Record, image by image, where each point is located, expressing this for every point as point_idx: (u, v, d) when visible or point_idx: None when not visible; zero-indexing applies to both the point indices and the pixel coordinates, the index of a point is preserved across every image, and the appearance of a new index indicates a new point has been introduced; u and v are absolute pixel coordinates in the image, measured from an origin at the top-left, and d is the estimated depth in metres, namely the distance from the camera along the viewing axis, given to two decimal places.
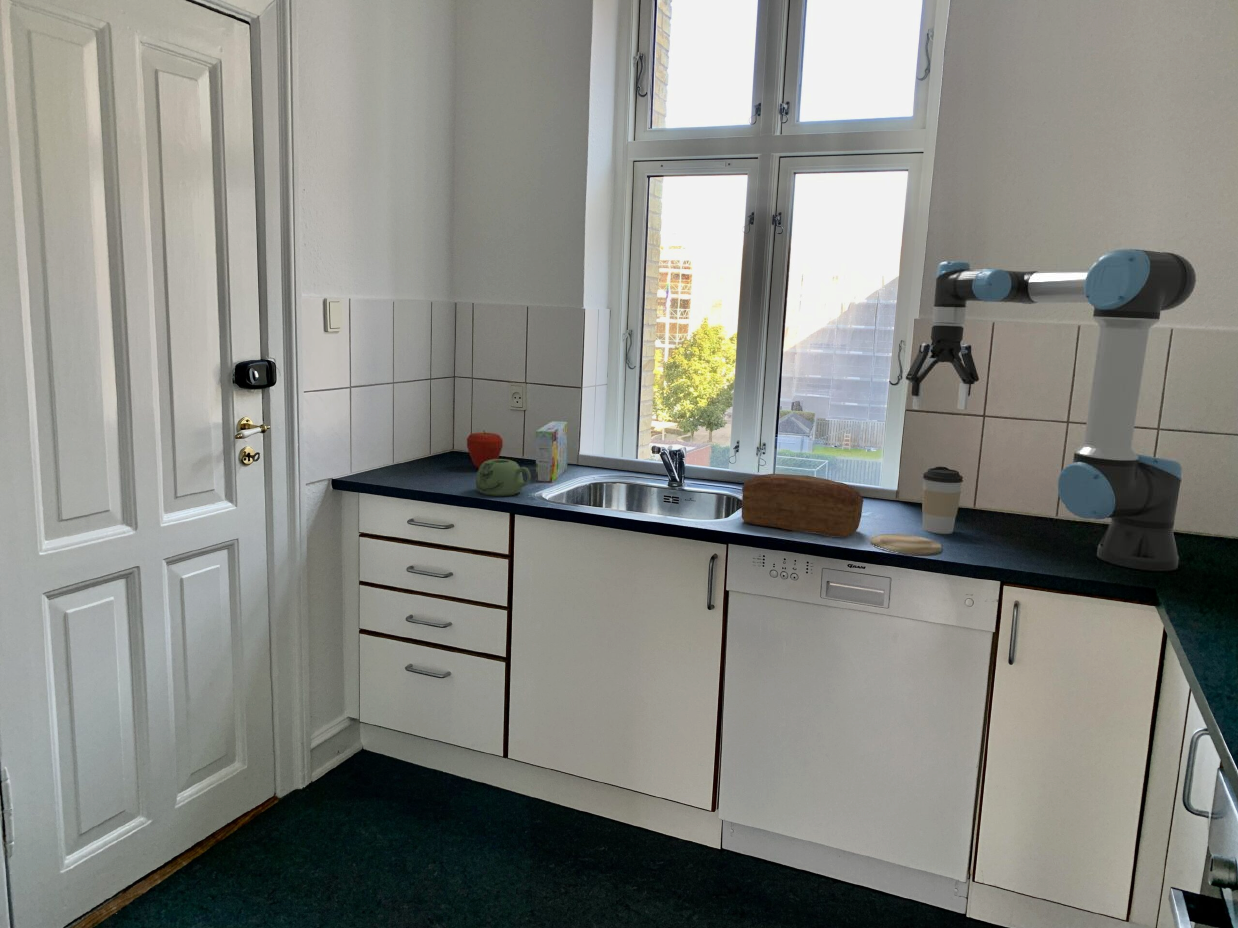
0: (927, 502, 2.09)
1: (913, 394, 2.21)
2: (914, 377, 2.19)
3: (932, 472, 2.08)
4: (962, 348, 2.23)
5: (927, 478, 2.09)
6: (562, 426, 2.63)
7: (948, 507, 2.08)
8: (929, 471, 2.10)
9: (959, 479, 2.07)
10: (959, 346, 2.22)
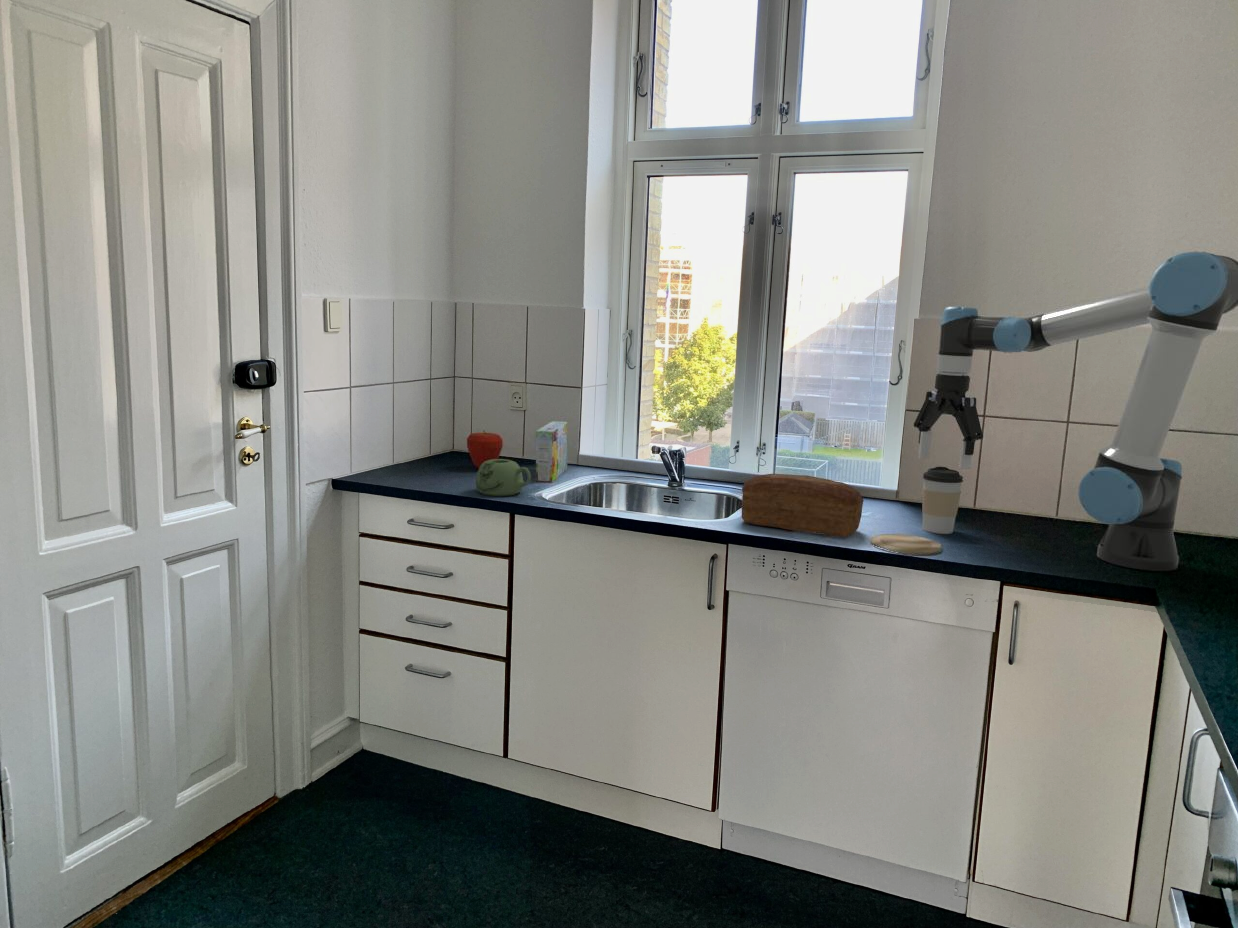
0: (927, 502, 2.09)
1: None
2: (916, 423, 2.16)
3: (932, 472, 2.08)
4: (964, 400, 2.02)
5: (927, 478, 2.09)
6: (562, 426, 2.63)
7: (948, 507, 2.08)
8: (929, 471, 2.10)
9: (959, 479, 2.07)
10: (957, 397, 2.03)
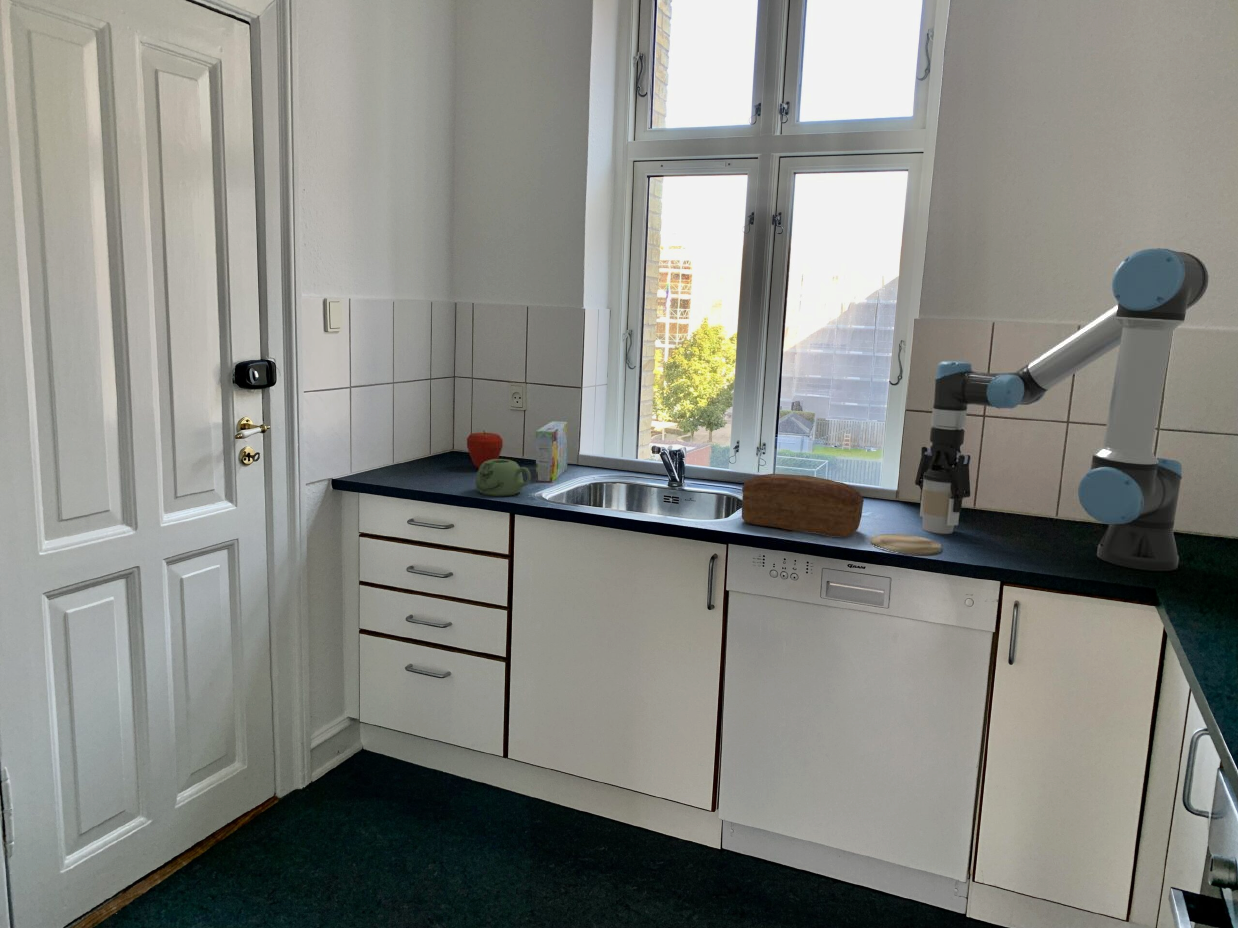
0: (927, 502, 2.09)
1: None
2: (917, 481, 2.17)
3: (932, 472, 2.08)
4: (958, 456, 2.05)
5: (927, 478, 2.09)
6: (562, 426, 2.63)
7: (948, 507, 2.08)
8: (929, 471, 2.10)
9: None
10: (952, 451, 2.05)
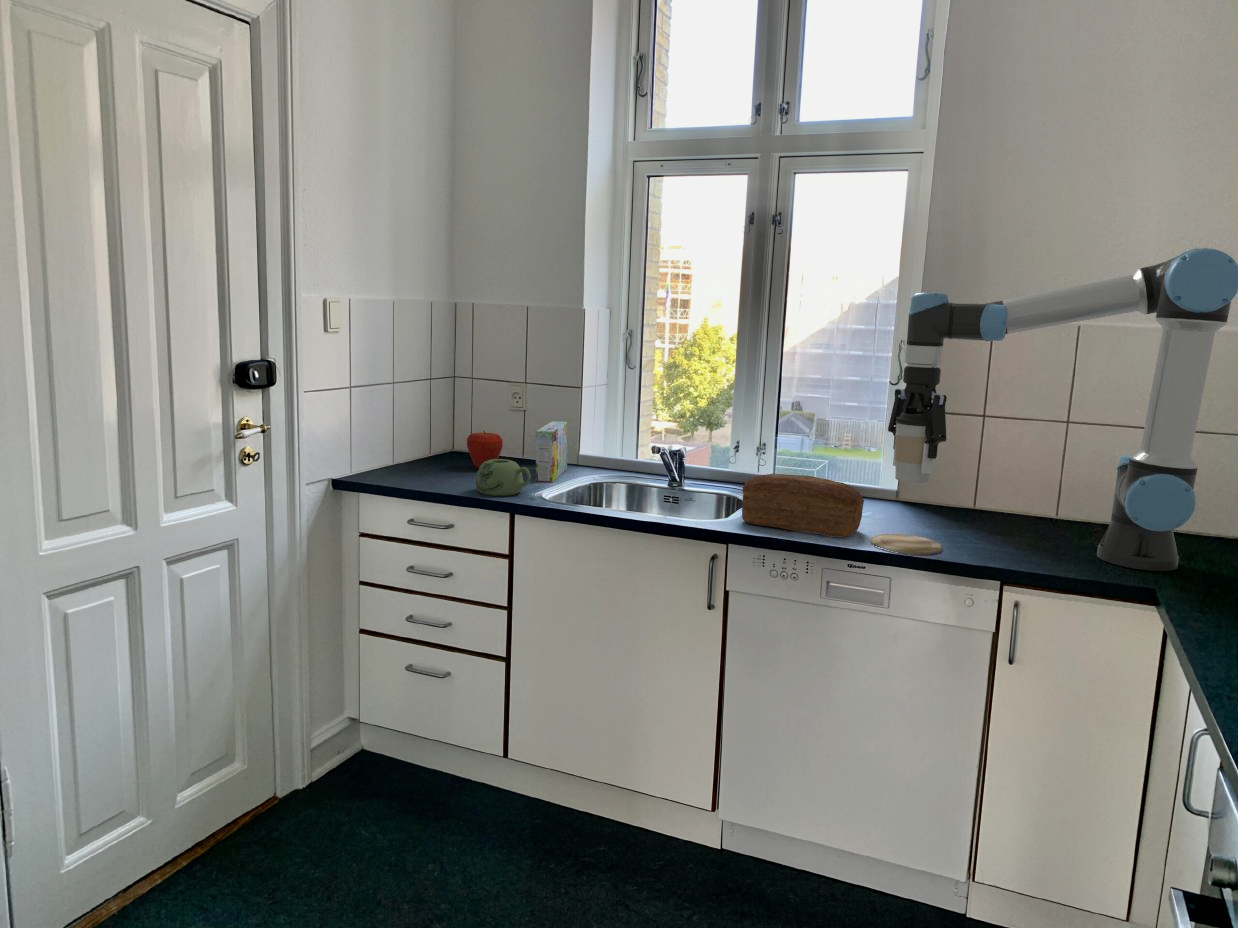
0: (900, 448, 1.91)
1: None
2: (890, 428, 1.98)
3: (905, 415, 1.90)
4: (933, 396, 1.86)
5: (900, 422, 1.91)
6: (562, 426, 2.63)
7: None
8: (902, 414, 1.91)
9: None
10: (927, 391, 1.87)
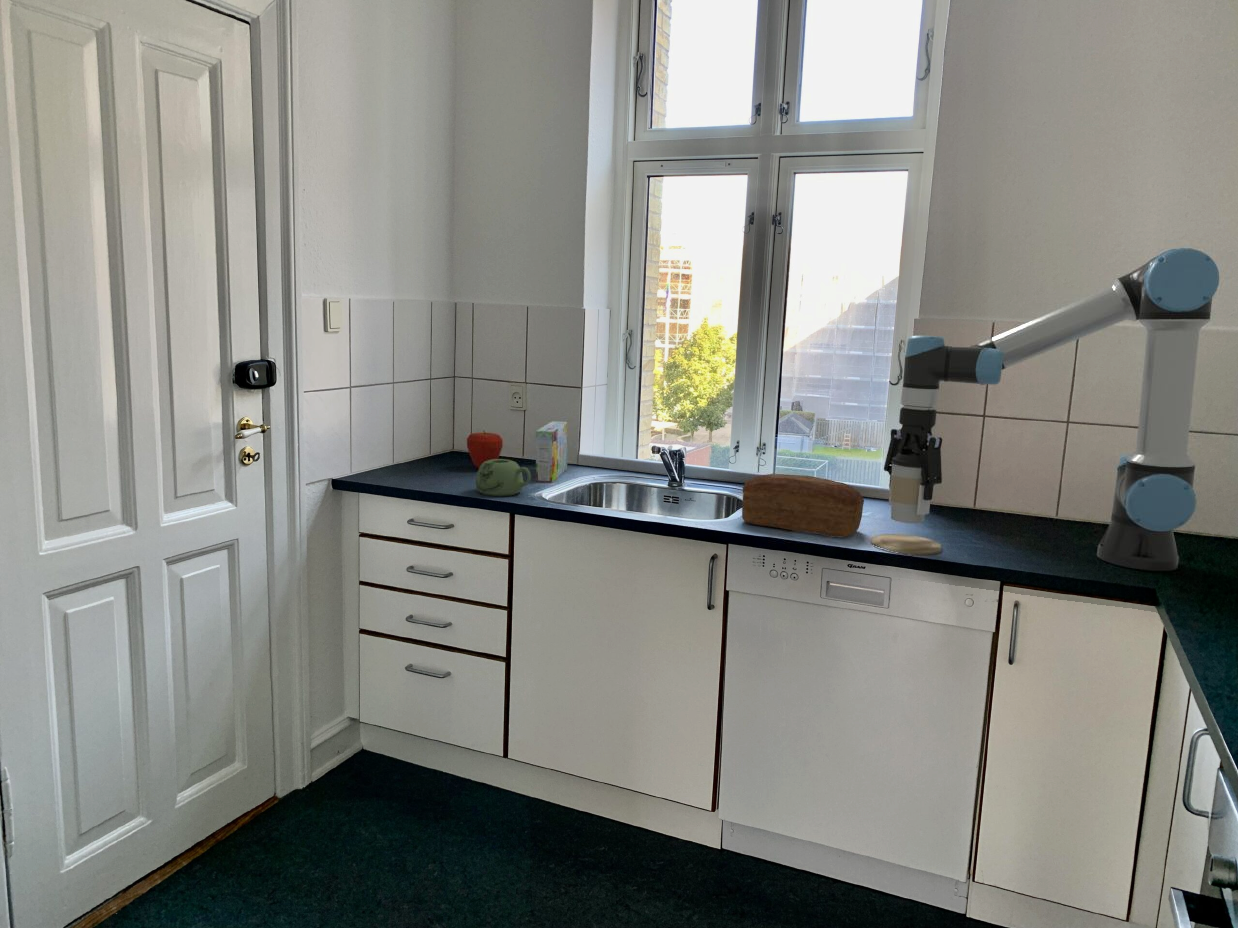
0: (895, 489, 1.93)
1: None
2: (886, 467, 2.00)
3: (901, 456, 1.92)
4: (929, 438, 1.88)
5: (896, 463, 1.92)
6: (562, 426, 2.63)
7: (918, 494, 1.91)
8: (898, 455, 1.93)
9: None
10: (923, 434, 1.89)
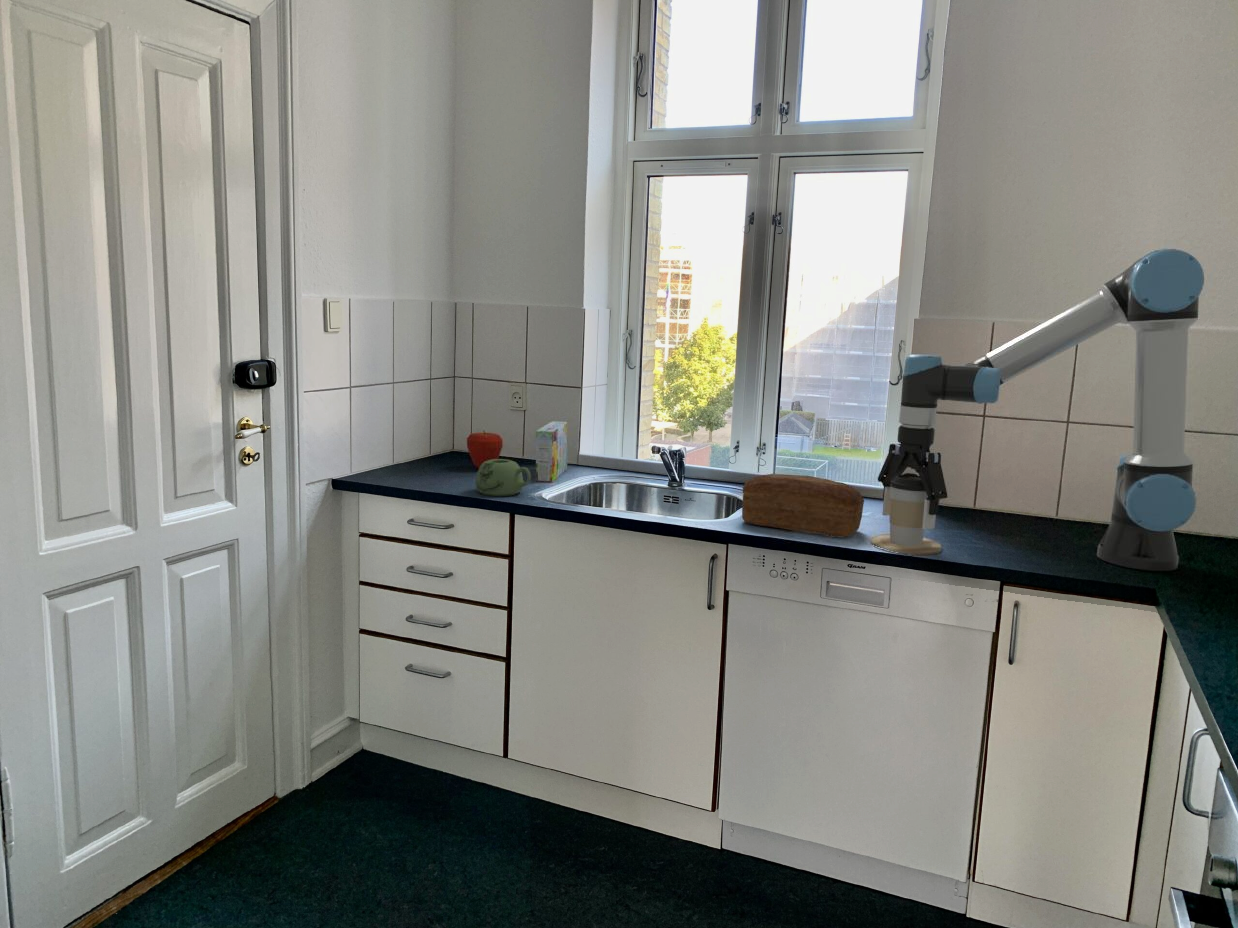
0: (894, 512, 1.93)
1: None
2: (879, 478, 2.02)
3: (899, 479, 1.92)
4: (927, 455, 1.88)
5: (894, 486, 1.93)
6: (562, 426, 2.63)
7: (917, 517, 1.91)
8: (896, 478, 1.94)
9: None
10: (920, 452, 1.89)
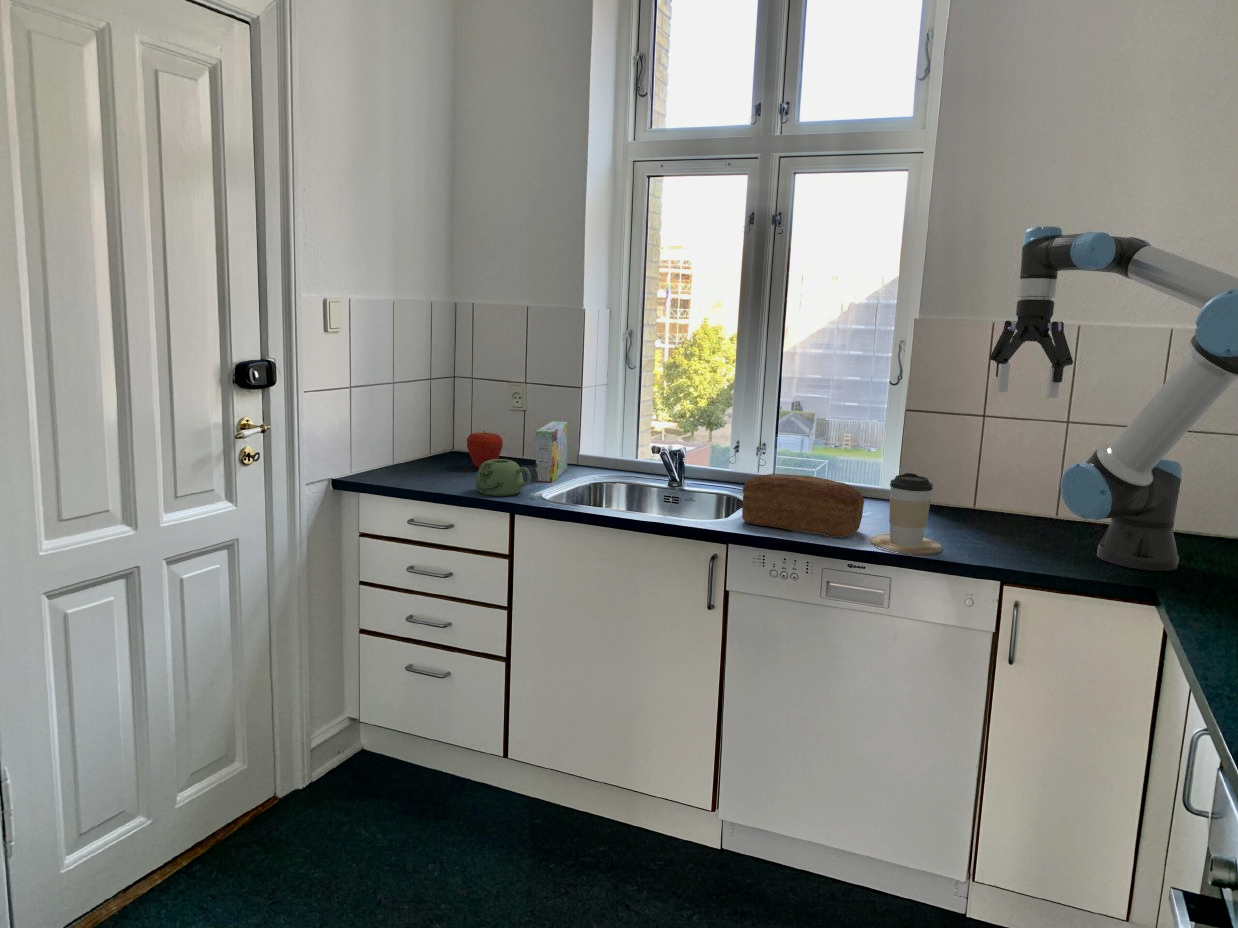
0: (894, 512, 1.93)
1: None
2: (992, 356, 2.06)
3: (899, 479, 1.92)
4: (1050, 325, 1.92)
5: (894, 486, 1.93)
6: (562, 426, 2.63)
7: (917, 517, 1.91)
8: (896, 478, 1.94)
9: (928, 487, 1.91)
10: (1042, 323, 1.93)
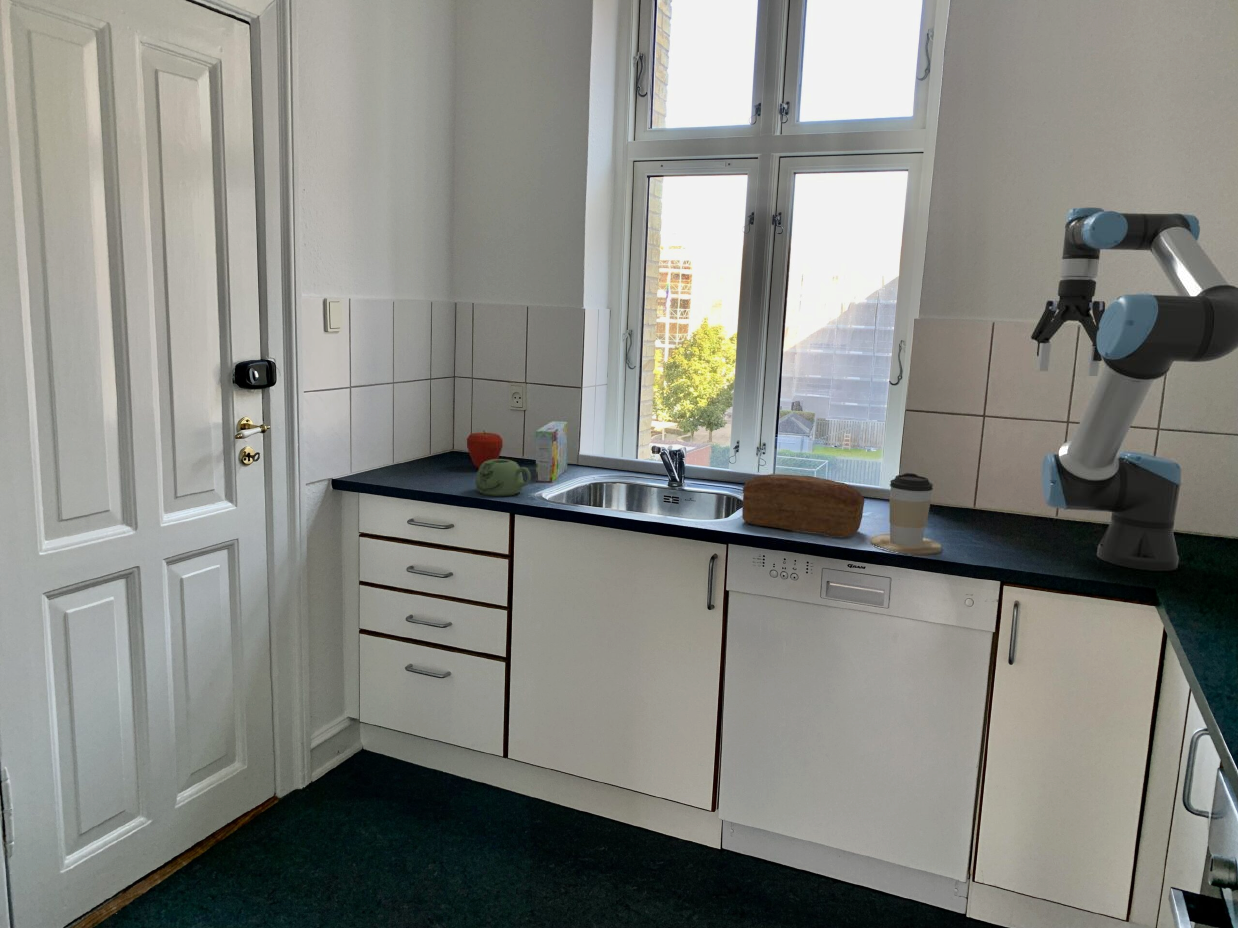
0: (894, 512, 1.93)
1: None
2: (1033, 336, 2.10)
3: (899, 479, 1.92)
4: (1091, 305, 1.96)
5: (894, 486, 1.93)
6: (562, 426, 2.63)
7: (917, 517, 1.91)
8: (896, 478, 1.94)
9: (928, 487, 1.91)
10: (1083, 302, 1.97)
